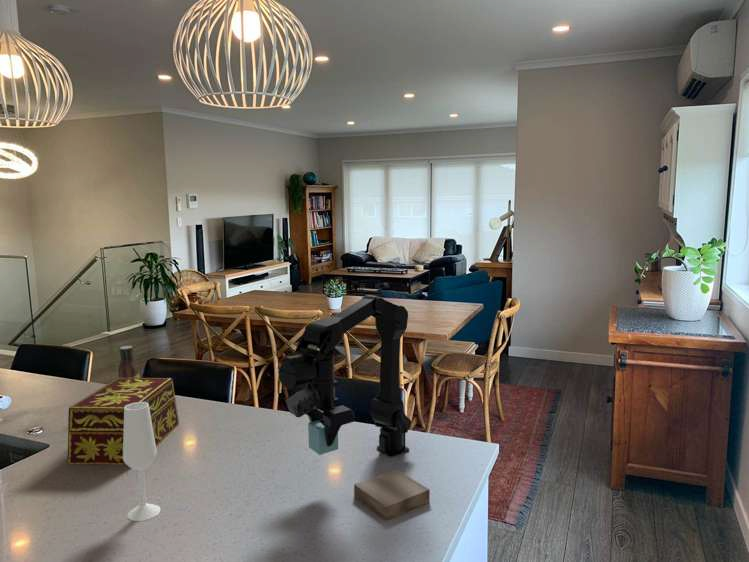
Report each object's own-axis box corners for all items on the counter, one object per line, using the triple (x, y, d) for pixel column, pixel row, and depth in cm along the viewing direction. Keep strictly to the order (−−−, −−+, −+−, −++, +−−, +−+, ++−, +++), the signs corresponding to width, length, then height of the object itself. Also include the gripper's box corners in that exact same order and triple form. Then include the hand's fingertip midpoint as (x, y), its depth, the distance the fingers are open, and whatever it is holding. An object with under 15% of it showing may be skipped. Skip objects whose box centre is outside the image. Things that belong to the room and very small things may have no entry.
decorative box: (120, 423, 172) (116, 376, 170) (179, 424, 171) (177, 376, 169) (67, 465, 145) (62, 409, 143) (137, 466, 144) (133, 409, 142)
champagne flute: (163, 502, 126) (156, 399, 122) (157, 519, 119) (149, 410, 116) (131, 505, 124) (123, 401, 121) (123, 522, 118) (115, 412, 115)
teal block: (327, 441, 135) (326, 417, 134) (338, 449, 131) (337, 424, 130) (308, 447, 132) (308, 422, 131) (319, 455, 128) (318, 429, 127)
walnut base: (395, 481, 134) (395, 469, 134) (429, 502, 125) (429, 489, 124) (354, 496, 127) (354, 484, 127) (386, 520, 118) (386, 506, 117)
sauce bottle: (138, 400, 192) (134, 343, 189) (145, 404, 187) (141, 346, 185) (118, 404, 188) (113, 346, 185) (124, 409, 183) (120, 350, 180)
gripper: (272, 373, 132) (274, 437, 134) (310, 395, 117) (312, 466, 119) (313, 365, 138) (315, 426, 140) (355, 385, 123) (356, 452, 125)
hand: (323, 441), depth 131 cm, fingers closed on teal block, 5 cm apart
